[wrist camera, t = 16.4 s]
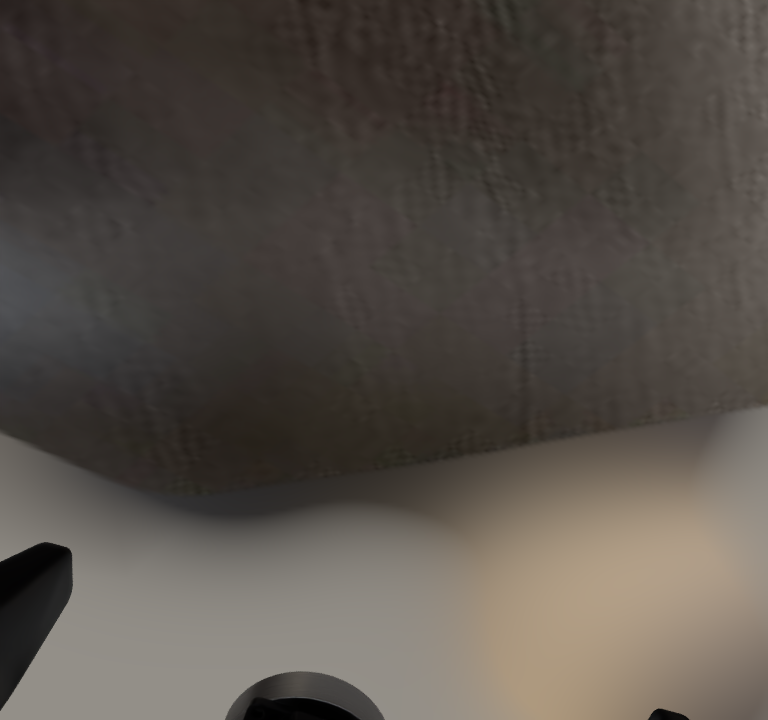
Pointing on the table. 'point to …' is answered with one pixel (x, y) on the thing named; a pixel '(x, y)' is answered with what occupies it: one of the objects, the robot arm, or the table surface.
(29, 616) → the robot arm
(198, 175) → the table surface
